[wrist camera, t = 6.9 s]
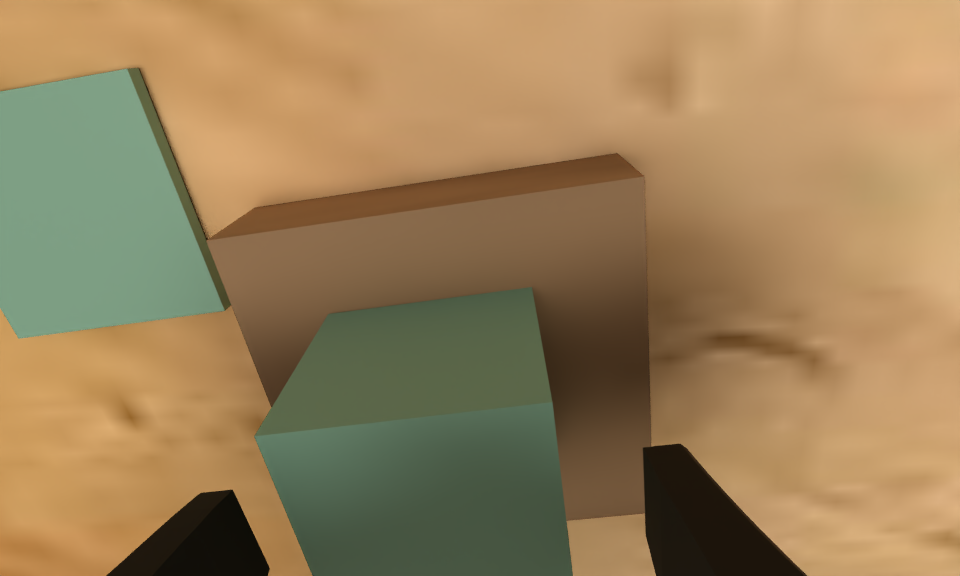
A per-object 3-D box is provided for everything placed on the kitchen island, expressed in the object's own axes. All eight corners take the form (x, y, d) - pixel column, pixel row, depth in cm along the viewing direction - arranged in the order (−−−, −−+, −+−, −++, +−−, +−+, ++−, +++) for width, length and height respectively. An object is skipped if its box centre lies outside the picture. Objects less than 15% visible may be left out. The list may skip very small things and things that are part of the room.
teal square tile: (231, 304, 14) (224, 310, 14) (30, 331, 15) (18, 338, 14) (138, 68, 12) (127, 68, 11) (-99, 111, 12) (-117, 112, 12)
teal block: (551, 450, 13) (576, 605, 9) (376, 468, 13) (333, 625, 10) (531, 287, 11) (552, 402, 8) (328, 313, 12) (254, 435, 8)
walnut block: (626, 436, 17) (653, 512, 14) (351, 465, 17) (324, 543, 15) (612, 148, 13) (644, 176, 10) (263, 201, 14) (205, 240, 11)
